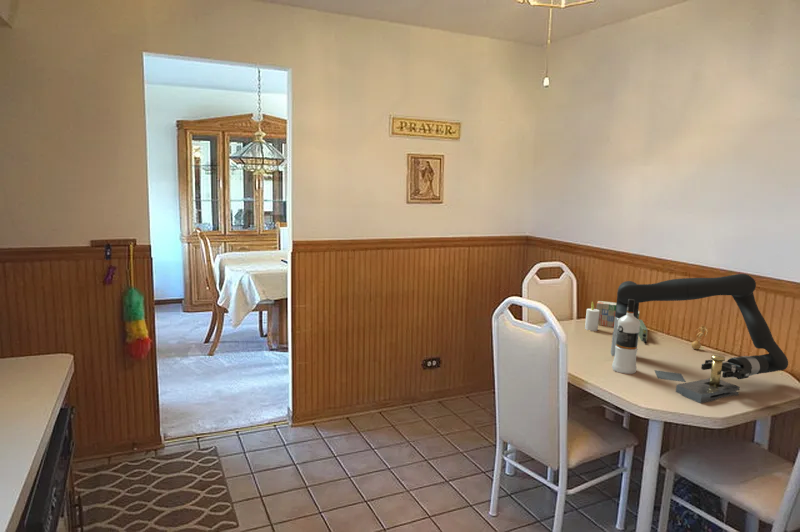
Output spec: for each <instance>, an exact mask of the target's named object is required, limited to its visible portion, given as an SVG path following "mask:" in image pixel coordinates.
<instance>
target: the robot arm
mask: <svg viewBox="0 0 800 532" xmlns="http://www.w3.org/2000/svg"><path fill="white" fill-rule="evenodd" d="M756 287H757V282H756V280H755V279H754V277H752V276H751V275H750V274H746V273H737V274H732V275H726V276H720V277H719V276H718V277H692V278H691V277H686V278H672V279H668V280H667V279H666V280H664V281H659V282H656V283H647V284H645V283H644V284H643V283H641V284H640V283H636V282H635V281H632V280H631V281H630V280H627V281H623V282H622V283H620V285H618V288H617V291H616V295H617V296H616V302H615V303H616V311H615V321H614V327H613V331H612V336H611V337H612V340H611V347H610V354H611V356H612V357H613V356H614V357H615V348H616V347H615V346H616V340H617V330H618V329H617V327H618V320H619V319H620V318H621V317H623V316H625V315H626V313H627V306H628V299H633V300H635V305H634V314H633V316H634V317H636V318H637V319H638V311H640V309H639V308H640V303H646V302H671V301H672V302H674V301H675V302H676V301H678V302H680V301H682V302H683V301H693V300H699V299H704V298H710V297H714V296H731V297H732V299H733V300H734V301H735V303H736V305H737V306H738V309H739V311H740V313H741V315H742V317H743V320H744V323H745V325H746V329H747V331H748V334H749V337H750V338H751V341H752V343H753V345H754V348H756V349H760V350H761V349H762V350H765V351H766V352H767V353H766V354H760V355H749V356H748V355H743V356H736V357H730V358H728V359H727V360H726V361H723V362H722V370H721V377H722V378H724V379H726V378H727V379H728V378H731V379H734V378H736V380H743V379H749V378H750V377H752V376H754V375H759V374H767V373H773V372H779V371H784V370H787V368H788V366H789V359H788V357H787V355H786V354H785V352H783V350H782V349H781V348H780V347H779V345H778V344H777V342H776V341H775V339H774V337H773V334H772V332H771V329H770V327H769V325H768V324H767V320H765V317H764V316H763V314H762V312H761V311H760V309H759V306H758V305H757V302H756V298H755V294H754V291H755V290H756ZM712 361H713V359H706V360H705V361H704V363H702V364H701V367H700V368H701V370H703V371H707V370H711V368H712Z"/></svg>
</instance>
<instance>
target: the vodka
mask: <svg viewBox="0 0 800 532" xmlns="http://www.w3.org/2000/svg"><path fill="white" fill-rule="evenodd" d="M634 305H635V300H633V299H628V306H627V313H626V315H625V316H623V317H621V318H620V319H619V320H618V327H617V329H618V330H617V340H616V346H615V347H616V348H615V356H614V358H613V361H612V364H611V368H612V370H613V371H614V372H615V373H616V372H617V373H621V374H626V375H633V374H636V372H637V370H638V369H637V352H638V350H639V349H638V343H639V331H640V330H639V329H640V321H639V320H640V319H639V320H638V319H637V318H636V317H634V316H633V314H634Z"/></svg>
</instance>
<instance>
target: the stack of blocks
mask: <svg viewBox="0 0 800 532" xmlns="http://www.w3.org/2000/svg"><path fill="white" fill-rule="evenodd" d="M616 303H617V302H612V301H602V300H598V301H597V302H596V308H595V309H597V310H599V321H598V326H602V325H603V326H602V327H609V326H610V328H614V321H615V311H616ZM638 320H640V310H638Z"/></svg>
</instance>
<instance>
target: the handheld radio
mask: <svg viewBox="0 0 800 532" xmlns="http://www.w3.org/2000/svg"><path fill="white" fill-rule="evenodd" d="M639 321H640V329H639V330H640V331H639V336H638V338H639V339H640V341H641V342H643V343H644V344H645V345H646V344H647V343H648V333H649V332H648V330H649V329H648V328H647V326H646V324H645V322H644V321H643V319H639Z"/></svg>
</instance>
